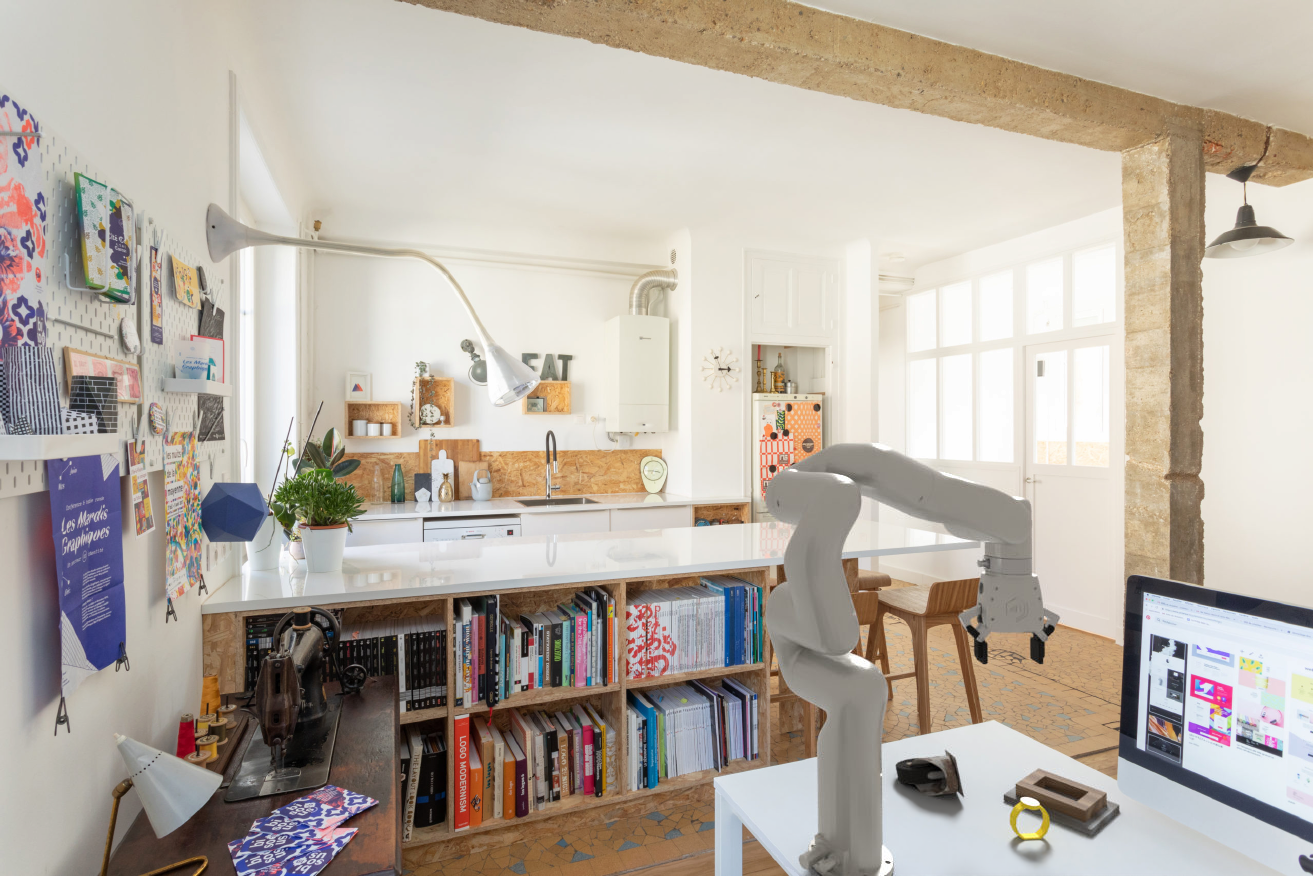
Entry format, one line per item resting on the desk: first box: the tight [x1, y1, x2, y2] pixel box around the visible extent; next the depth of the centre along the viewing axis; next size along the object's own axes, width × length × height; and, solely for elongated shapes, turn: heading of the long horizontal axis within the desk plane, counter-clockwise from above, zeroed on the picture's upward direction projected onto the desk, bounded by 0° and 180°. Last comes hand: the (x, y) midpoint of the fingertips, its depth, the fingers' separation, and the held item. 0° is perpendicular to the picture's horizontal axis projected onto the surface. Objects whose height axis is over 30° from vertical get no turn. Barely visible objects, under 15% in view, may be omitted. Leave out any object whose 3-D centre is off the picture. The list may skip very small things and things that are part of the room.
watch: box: [1009, 797, 1051, 841], centre depth 111 cm, size 6×3×6 cm, turn 94°
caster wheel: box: [895, 749, 965, 798], centre depth 127 cm, size 7×11×10 cm
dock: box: [1003, 768, 1120, 837], centre depth 120 cm, size 12×14×3 cm
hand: (1009, 661), depth 122 cm, fingers open, 9 cm apart
